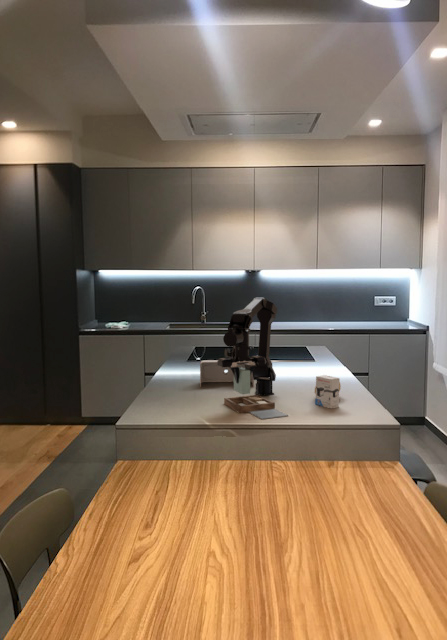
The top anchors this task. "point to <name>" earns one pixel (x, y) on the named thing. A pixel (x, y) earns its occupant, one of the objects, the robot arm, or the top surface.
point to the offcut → (254, 399)
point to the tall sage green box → (243, 382)
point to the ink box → (327, 391)
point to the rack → (248, 404)
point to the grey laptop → (217, 372)
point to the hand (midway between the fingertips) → (241, 382)
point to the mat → (268, 413)
